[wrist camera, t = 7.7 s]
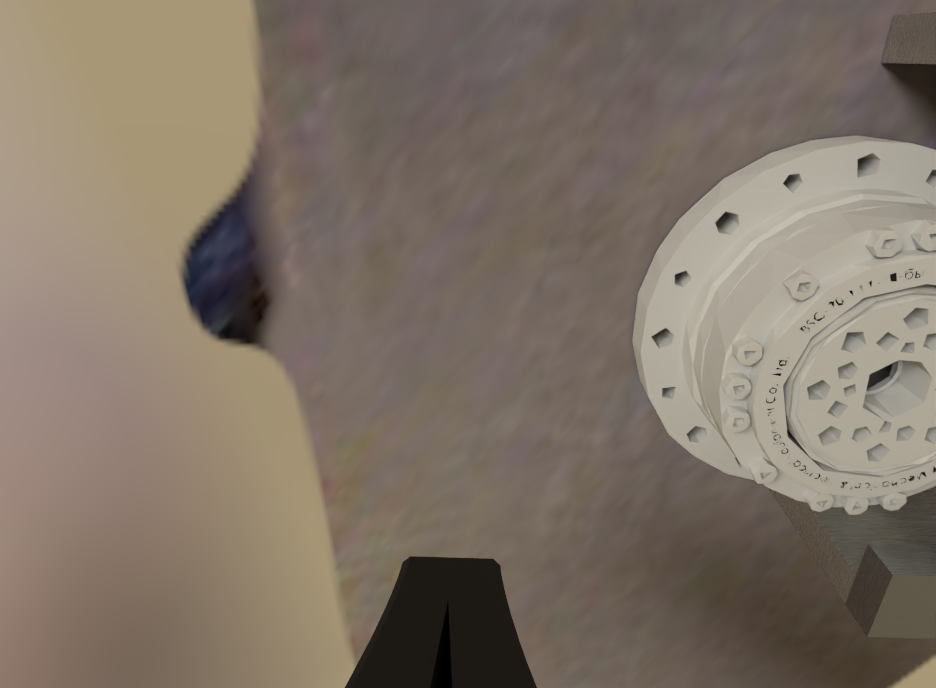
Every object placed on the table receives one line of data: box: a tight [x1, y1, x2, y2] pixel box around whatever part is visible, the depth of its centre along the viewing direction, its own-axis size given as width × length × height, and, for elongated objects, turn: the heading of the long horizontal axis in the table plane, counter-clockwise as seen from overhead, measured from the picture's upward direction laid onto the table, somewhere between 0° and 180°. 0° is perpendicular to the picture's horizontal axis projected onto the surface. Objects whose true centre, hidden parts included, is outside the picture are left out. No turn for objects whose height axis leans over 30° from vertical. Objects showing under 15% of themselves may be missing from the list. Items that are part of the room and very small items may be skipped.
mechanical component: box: [632, 135, 936, 515], centre depth 16 cm, size 10×4×10 cm
